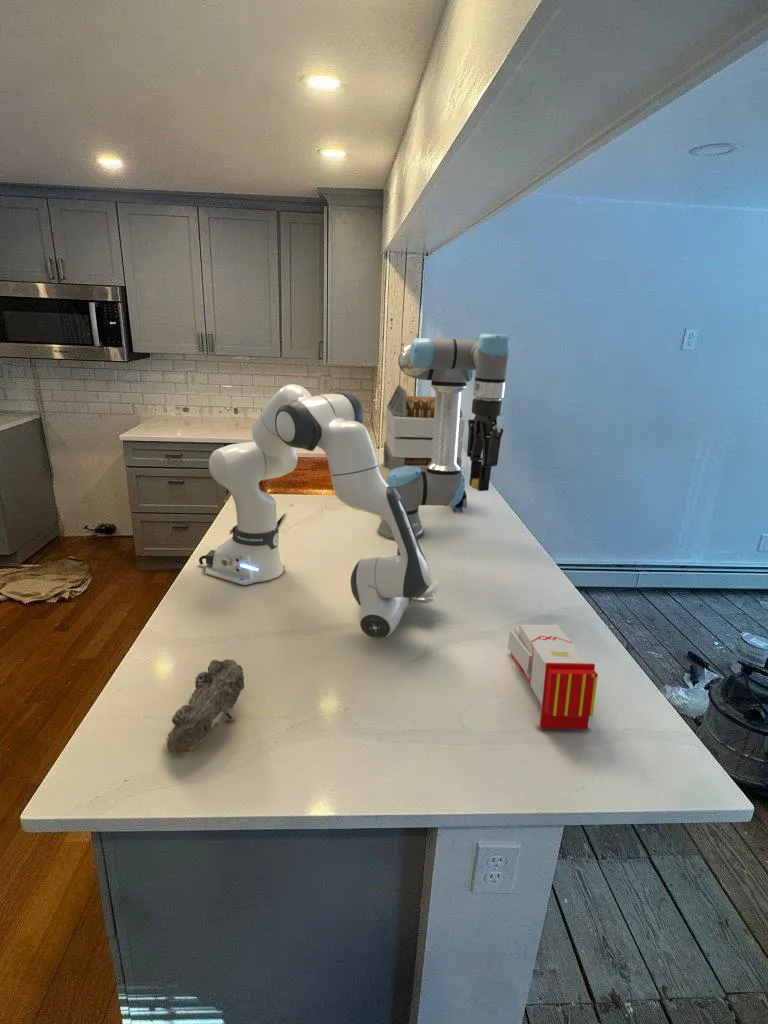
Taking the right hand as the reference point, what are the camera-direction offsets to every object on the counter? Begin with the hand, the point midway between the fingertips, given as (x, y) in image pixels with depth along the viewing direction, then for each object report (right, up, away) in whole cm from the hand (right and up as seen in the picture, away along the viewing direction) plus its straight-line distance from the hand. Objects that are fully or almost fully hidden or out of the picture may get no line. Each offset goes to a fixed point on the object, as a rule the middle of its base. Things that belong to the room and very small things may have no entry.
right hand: (478, 487), depth 150 cm
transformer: (-8, +12, +125) cm, 126 cm away
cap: (0, +2, -1) cm, 2 cm away
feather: (-62, -8, +61) cm, 88 cm away
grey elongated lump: (-58, -46, -42) cm, 85 cm away
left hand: (-19, -23, +6) cm, 31 cm away
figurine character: (+4, -5, +80) cm, 80 cm away
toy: (+9, -44, -28) cm, 53 cm away
